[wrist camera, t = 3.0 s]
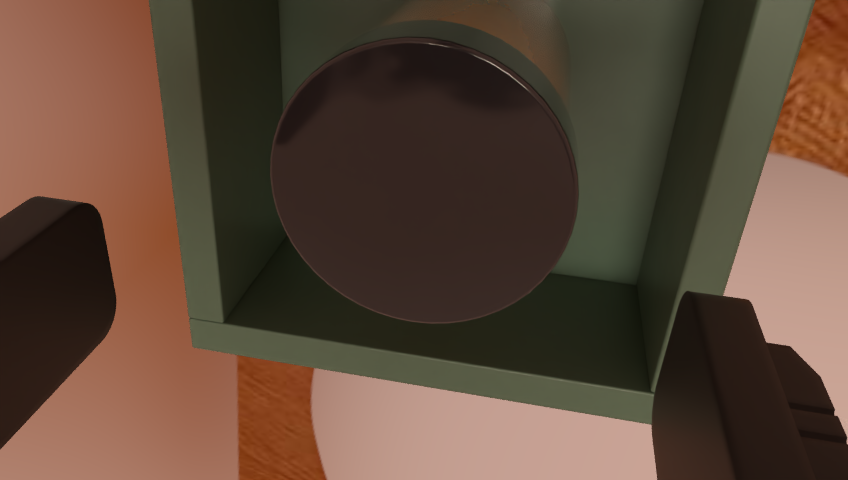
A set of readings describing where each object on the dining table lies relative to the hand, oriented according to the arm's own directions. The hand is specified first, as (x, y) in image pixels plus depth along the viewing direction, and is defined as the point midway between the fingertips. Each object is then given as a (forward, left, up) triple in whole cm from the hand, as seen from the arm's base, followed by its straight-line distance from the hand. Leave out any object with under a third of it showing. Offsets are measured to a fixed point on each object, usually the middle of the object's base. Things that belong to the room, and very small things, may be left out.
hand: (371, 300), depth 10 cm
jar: (0, 0, -12) cm, 12 cm away
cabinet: (0, 0, -34) cm, 34 cm away
